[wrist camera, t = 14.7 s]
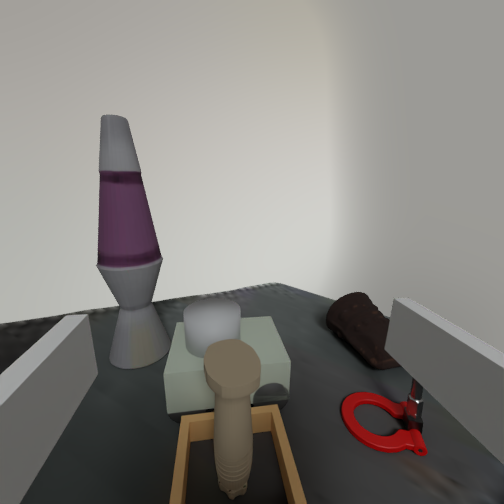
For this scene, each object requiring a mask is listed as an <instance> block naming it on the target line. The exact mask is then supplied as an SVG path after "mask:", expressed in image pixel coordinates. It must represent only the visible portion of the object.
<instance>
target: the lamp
mask: <svg viewBox="0 0 504 504" xmlns="http://www.w3.org/2000/svg"><path fill="white" fill-rule="evenodd" d="M100 132H101V133H100V155H99V173H100V190H99V227H98V232H99V233H98V263H97V265H96V266H97V268H98V269H99V271H100V273H101V275H102V276H103V278H104V280H105V281H106V283H107V285H108V287H109V288H110V290H111V292H112V294H113V295H114V297H115V299H116V300H117V302H118V304H119V306H120V311H119V316H118V320H117V324H116V329H115V333H114V338H113V342H112V346H111V351H110V355H109V360H110V362H111V363H112V364H113V365H114V366H116V367H118V368H122V369H136V368H141V367H145V366H148V365H150V364H153V363H155V362H157V361H158V360H160V359H161V358H163V357H164V356H165V355H166V354H167V352H168V351H169V350H170V347H171V341H170V338H169V336H168V334H167V332H166V330H165V328H164V326H163V324H162V322H161V320H160V318H159V316H158V314H157V312H156V310H155V308H154V306H153V304H152V302H151V301H152V298H153V293H154V290H155V286H156V283H157V279H158V275H159V271H160V267H161V264H162V260H163V258H162V256H161V253H160V249H159V245H158V241H157V237H156V233H155V229H154V225H153V221H152V218H151V213H150V209H149V205H148V201H147V198H146V194H145V189H144V185H143V181H142V177H141V169H140V166H139V162H138V158H137V154H136V150H135V147H134V143H133V139H132V135H131V132H130V128H129V124H128V121H127V119H126V118H124V117H121V116H117V115H103V116H102V117H101V131H100Z"/></svg>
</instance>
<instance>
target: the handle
mask: <svg viewBox="0 0 504 504" xmlns="http://www.w3.org/2000/svg"><path fill="white" fill-rule="evenodd" d="M204 373H205V378H206V382H207V384H208V386H209V387H210V388H211V390H212V391H213V392H215V408H214V456H215V465H216V471H217V475H218V477H217V479H218V485H219V488H220V490H221V491H224V492H225V493H226V494H227V495H228V497H229V499H234V498H235V497H236V496H238V495H244V494H245V493H246V491H247V480H248V479H249V475H250V471H251V465H252V455H253V431H252V417H251V401H250V394H252V393H254V392H255V391H256V390H257V389H258V388H259V386H260V375H261V362H260V359H259V357H258V355H257V353H256V352H255V350H254V349H253V348H252V347H251V346H250V345H248V344H246V343H245V342H243V341H241V340H238V339H227V340H221V341H218V342H215V343H213V344H211V345H210V346H208V348H207V350H206V352H205V355H204Z"/></svg>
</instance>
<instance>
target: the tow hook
mask: <svg viewBox="0 0 504 504" xmlns="http://www.w3.org/2000/svg"><path fill="white" fill-rule="evenodd" d="M422 392H423V386H422V385H421V384H420V383H419V382H418V381H417V380H416V379H414V378H412V386H411V393H410V394H408V399H407V402H401V403H400V404H397V403H393V402H392V401H390V400H388V399H386V398H384V397H382V396H380V395H377V394H374V393H368V392H357V393H354V394H351V395H349V396H348V397H346V399H345V400H344V401H343V404H342V409H341V413H342V419H343V422H344V424H345V426H346V427H347V429H348V430H349V432H350V433H351V434H352V435H353V436H354V437H355V438H356V439H357V440H359V441H360V442H362V443H363V444H365V445H366V446H368V447H370V448H373V449H375V450H378V451H382V452H387V453H391V452H399V451H402V450H405V449H409V450H413V451H414V452H415V453H416V454H417V455H420V456H424V455H426V454H427V449H426V446H425V444H424V441H423V438H422V436H421V434H422V428H423V421H422V418H421V416H422V414H421V413H422V409H423V399H422ZM361 404H373V405H376V406H379V407H381V408H383V409H385V410H386V411H387V412H389V413H390V414H391V415H392V416H393V417H395V418H399V419H403V422H404V425H405V428H406V430H402V429H399V430H398V431H397V432H396V433H395V434H394V435H391V436H379V435H375V434H373V433H370V432H369V431H367V430H365V429H364V428H363V427H362V426H361V425H360V424H359V423H358V422H357V421H356V419H355V417H354V413H353V411H354V409H355V408H356V407H357V406H358V405H361Z"/></svg>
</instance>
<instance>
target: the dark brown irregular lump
mask: <svg viewBox="0 0 504 504" xmlns="http://www.w3.org/2000/svg"><path fill="white" fill-rule="evenodd" d="M389 322H390V320H389V319H388V318H385V317H384V316H383V314H382V313H381V312H380V311H379V310H378V307H377V306H375V305H374V304H373V303H372V301H371V300H370V299H369V297H368V296H367V295H366V294H365V293H362V292H354V293H350V294H347V295H345V296H343V297H341V298H339V299H338V300H337V301H335V302H334V303H333V305H332V306H331V307H330V309H329V311H328V313H327V317H326V324H327V327H328V328H329V329H330V330H332V331H333V332H335V333H337V334H338V337H340V338H343V339H345V341H346V342H347V343H349V344H351V345H352V346H353V348H354V349H355V350H356V351H358V352H359V353H360V355H361V356H362V357H363V358H364V359H365V360H366V361H367V362H368V363H369V364H370V365H371V366H372V367H374V368H376V369H381V370H385V369H390V368H395V367H400V366H401V365H400V364H399V363H398V362H397V361H396V360H395V359H394V358H393V357H392V356H391V355H390V354H389V353H388V352H387V351H386V350H385V344H386V338H387V333H388V327H389Z"/></svg>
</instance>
